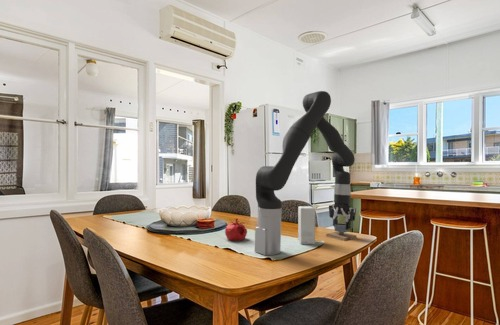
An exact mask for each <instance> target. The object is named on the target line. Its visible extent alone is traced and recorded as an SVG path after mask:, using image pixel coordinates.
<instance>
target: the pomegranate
mask: <svg viewBox="0 0 500 325" xmlns="http://www.w3.org/2000/svg"><path fill="white" fill-rule="evenodd" d="M234 220H235V221H234V222H233V221H230V222H229V223H227V224H228V225H226V226H225V230H224V233H225V236H226V238H227V239H228V240H230V241H236V242H240V241H243V240H244V239H245V238H246V237H247V233H248V229H247V228H246V226H245V223H244V222H240V221H239V218H236V217H235V219H234Z"/></svg>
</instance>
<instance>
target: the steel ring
mask: <svg viewBox="0 0 500 325" xmlns="http://www.w3.org/2000/svg"><path fill="white" fill-rule="evenodd" d="M333 230H334V232H344V233H348V232H349V230H350V229H349V230H346V223H344V222H338V223H336V224H335V226H333Z"/></svg>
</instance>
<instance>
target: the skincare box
mask: <svg viewBox="0 0 500 325" xmlns="http://www.w3.org/2000/svg"><path fill="white" fill-rule="evenodd" d="M297 215H298V216H297V217H298V218H297V220H298V221H297V222H298V223H297V228H298V229H297V230H298V231H297V240H298V241H299V243H300V245H315V244H316V208H315V207H313V206H308V205H307V206H306V205H305V206H304V205H303V206H302V205H301V206H298V208H297Z"/></svg>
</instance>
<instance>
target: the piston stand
mask: <svg viewBox="0 0 500 325" xmlns="http://www.w3.org/2000/svg"><path fill="white" fill-rule="evenodd" d="M325 236H326V237H327V238H331V239H335V240H339V241H344V242H345V241H348V240H353V239H356V238H357V235H356V234H351V233H348V232H338V231H334V232H330V233H326V235H325Z"/></svg>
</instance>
